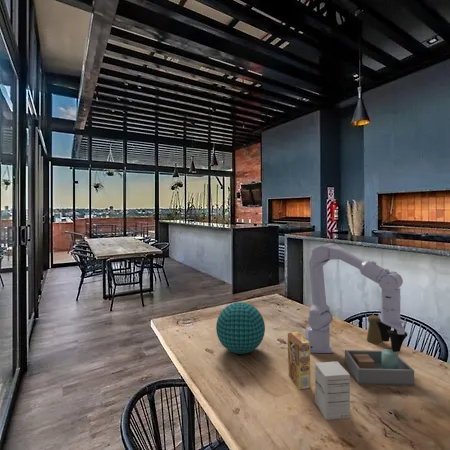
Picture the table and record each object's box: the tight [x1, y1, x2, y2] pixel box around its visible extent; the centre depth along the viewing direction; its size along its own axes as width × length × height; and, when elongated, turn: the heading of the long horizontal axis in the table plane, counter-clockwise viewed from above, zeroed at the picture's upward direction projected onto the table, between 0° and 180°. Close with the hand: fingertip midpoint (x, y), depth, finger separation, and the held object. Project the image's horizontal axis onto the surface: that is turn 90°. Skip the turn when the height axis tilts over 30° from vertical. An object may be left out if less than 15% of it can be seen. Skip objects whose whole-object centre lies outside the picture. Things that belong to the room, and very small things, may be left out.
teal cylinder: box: [381, 348, 399, 369], centre depth 102 cm, size 5×5×7 cm
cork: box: [366, 314, 383, 345], centre depth 128 cm, size 6×6×11 cm
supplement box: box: [314, 361, 351, 421], centre depth 84 cm, size 7×7×13 cm
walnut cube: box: [354, 354, 374, 369], centre depth 103 cm, size 5×5×5 cm
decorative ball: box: [215, 301, 266, 355], centre depth 121 cm, size 20×20×20 cm
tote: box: [344, 349, 415, 387], centre depth 103 cm, size 18×14×5 cm
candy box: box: [287, 331, 312, 390], centre depth 99 cm, size 9×4×15 cm, turn 13°
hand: (390, 346), depth 102 cm, fingers open, 7 cm apart
